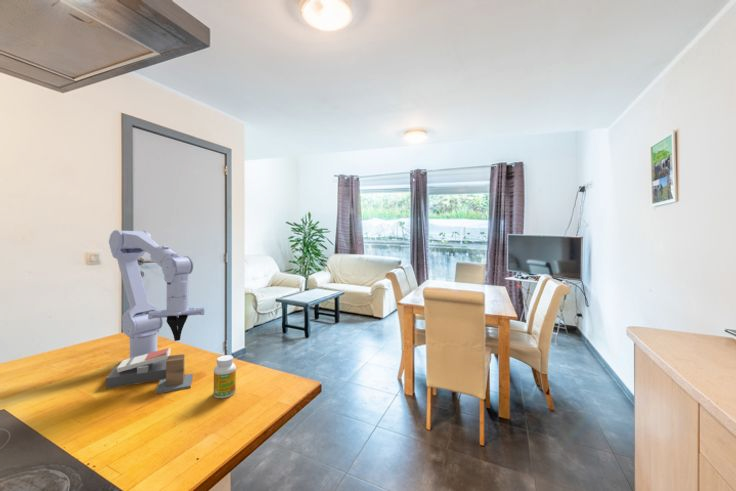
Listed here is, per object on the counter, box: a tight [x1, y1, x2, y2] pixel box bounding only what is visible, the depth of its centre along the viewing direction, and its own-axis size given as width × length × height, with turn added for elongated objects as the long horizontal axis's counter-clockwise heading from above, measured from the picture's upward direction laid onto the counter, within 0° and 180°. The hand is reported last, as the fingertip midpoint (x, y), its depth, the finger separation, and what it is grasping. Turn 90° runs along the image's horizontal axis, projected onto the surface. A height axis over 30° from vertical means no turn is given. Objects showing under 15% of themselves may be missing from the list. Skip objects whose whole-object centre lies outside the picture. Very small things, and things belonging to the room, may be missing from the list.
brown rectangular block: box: [166, 353, 185, 387], centre depth 85 cm, size 4×4×7 cm
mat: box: [155, 373, 194, 394], centre depth 85 cm, size 8×8×1 cm
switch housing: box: [105, 359, 167, 389], centre depth 89 cm, size 9×16×4 cm, turn 116°
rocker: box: [117, 347, 172, 372], centre depth 89 cm, size 6×12×1 cm, turn 116°
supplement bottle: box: [213, 354, 237, 399], centre depth 80 cm, size 5×5×10 cm
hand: (177, 339), depth 92 cm, fingers closed
